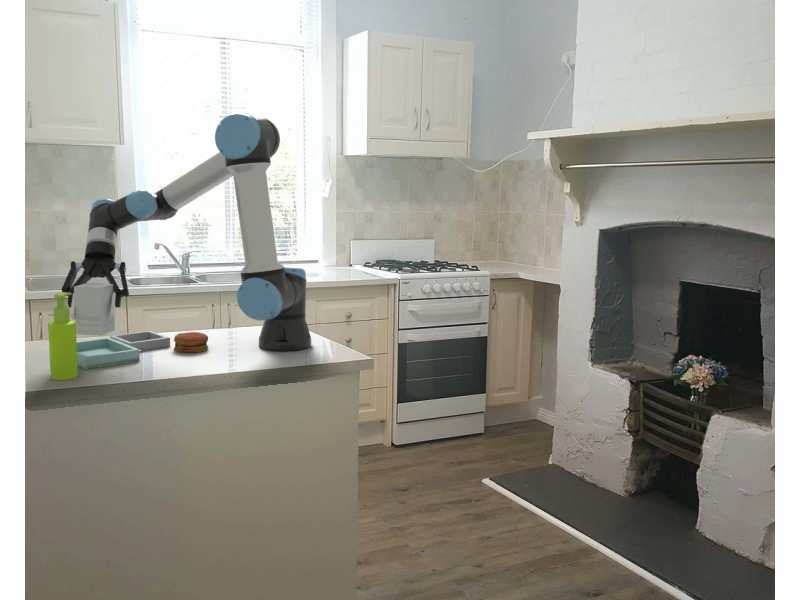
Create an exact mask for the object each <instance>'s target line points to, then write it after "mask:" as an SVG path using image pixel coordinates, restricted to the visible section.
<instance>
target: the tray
mask: <svg viewBox="0 0 800 600" xmlns="http://www.w3.org/2000/svg"><path fill="white" fill-rule="evenodd" d="M140 359H141V358H140V351H139V349H137V348H134V347H132V346H129V345H127V344H124V343H122V342H119V341H117V340H114V339H111V338H110V337H104V338H97V339H88V340H82V341H81V340H80V341H77V364H78V367H79V366H80V368H82V369H83V370H90V369H89V368H91V369H96V368H95V367H98V368H101V367H100V366H104V367H107V366H106V365H110V366H114V365H113V364H116V365H121V364H120V363H122V364H127V363H126V362H129V363H133V362H132V361H135V362H140V361H141V360H140Z"/></svg>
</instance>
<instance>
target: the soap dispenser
mask: <svg viewBox="0 0 800 600" xmlns="http://www.w3.org/2000/svg"><path fill="white" fill-rule="evenodd" d="M71 294H72V293H68V292H62V291H61V292H58V293H56V294H54V295H53V297H54V298H56V306H55V307H54V308H53V321H50V322H49V321H48V323H47V326H48V327H47V328H48V329H47V330H48V347H49V348H48V349H49V350H48V351H49V352H48V353H49V367H50V368H49V371H50V379H51V380H55V381H67V380H73V379H75V378H78V376H79V371H78V370H79V369H78V368H79V366H78V364H77V342H78V341H77V334H76V322H75V320H72V319H71V315H70V307H69V306H68V305H66V297H68V296H67V295H71Z"/></svg>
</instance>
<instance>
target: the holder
mask: <svg viewBox="0 0 800 600" xmlns="http://www.w3.org/2000/svg"><path fill="white" fill-rule="evenodd" d="M109 338H111V339H114V340H117V341H119V342H122V343H124V344H127V345H129V346H132V347H134V348H137V349H139V350H142V351H146V350H147V351H149V350H154V349H155V348H156V349H160V348H161V347H162V348H167V347H166V346H169V347H171V337H169V336H166V335H163V334H162V333H161V334H160V333H157V332H155V331H153V330H145V331H137V332H129V333H121V334H114V335H109ZM162 348H161V349H162ZM148 349H149V350H148Z"/></svg>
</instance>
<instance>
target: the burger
mask: <svg viewBox="0 0 800 600" xmlns="http://www.w3.org/2000/svg"><path fill="white" fill-rule="evenodd" d="M173 341H174V343H175V344H174V347H173V350H175V351H174V352H176V351H177V353H190V354H191V353H196V354H197V353H202V352H206V351H208V350H207V349H209V346H208V344H207V343H208V341H209V336H208V335H207V334H205V333H203V332H199V331H190V332H181V333H177V334H175V336H174V337H173Z"/></svg>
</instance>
